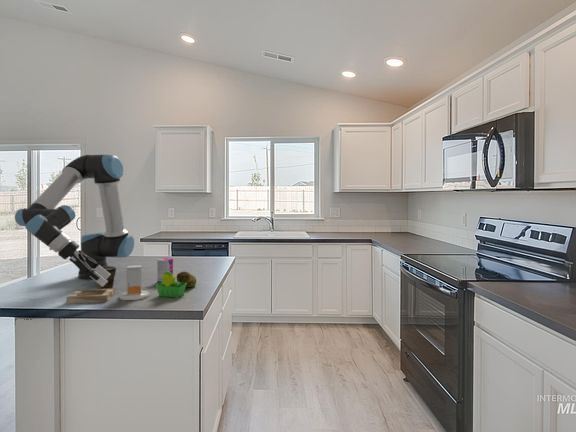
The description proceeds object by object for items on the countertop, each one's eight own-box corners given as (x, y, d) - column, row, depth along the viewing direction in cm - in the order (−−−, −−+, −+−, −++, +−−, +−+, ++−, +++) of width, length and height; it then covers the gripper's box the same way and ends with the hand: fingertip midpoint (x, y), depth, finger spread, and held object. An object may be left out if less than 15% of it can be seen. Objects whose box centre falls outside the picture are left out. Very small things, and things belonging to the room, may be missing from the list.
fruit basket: (187, 294, 163) (187, 268, 162) (177, 299, 154) (177, 272, 154) (164, 292, 165) (164, 267, 165) (153, 297, 157) (152, 271, 156)
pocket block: (77, 295, 159) (77, 289, 159) (114, 294, 162) (114, 288, 162) (66, 303, 147) (66, 297, 147) (106, 301, 150) (106, 295, 150)
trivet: (123, 293, 163) (123, 291, 163) (151, 292, 165) (151, 289, 165) (116, 301, 151) (115, 298, 151) (146, 299, 153) (146, 297, 153)
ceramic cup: (94, 287, 173) (93, 266, 172) (117, 286, 177) (116, 265, 176) (90, 294, 161) (89, 272, 160) (115, 292, 164) (115, 270, 164)
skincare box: (126, 295, 155) (125, 267, 154) (127, 293, 159) (126, 265, 158) (141, 294, 157) (141, 266, 156) (142, 292, 161) (141, 265, 160)
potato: (203, 285, 178) (203, 269, 178) (183, 291, 167) (183, 274, 167) (190, 283, 182) (190, 267, 182) (170, 289, 171) (170, 272, 171)
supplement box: (167, 283, 183) (167, 260, 182) (156, 282, 184) (156, 259, 183) (173, 280, 188) (173, 258, 188) (163, 279, 190) (162, 257, 189)
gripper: (63, 249, 158) (103, 280, 165) (49, 258, 135) (96, 294, 141) (77, 236, 160) (116, 268, 166) (65, 243, 137) (111, 280, 143)
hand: (107, 280), depth 154 cm, fingers open, 13 cm apart
